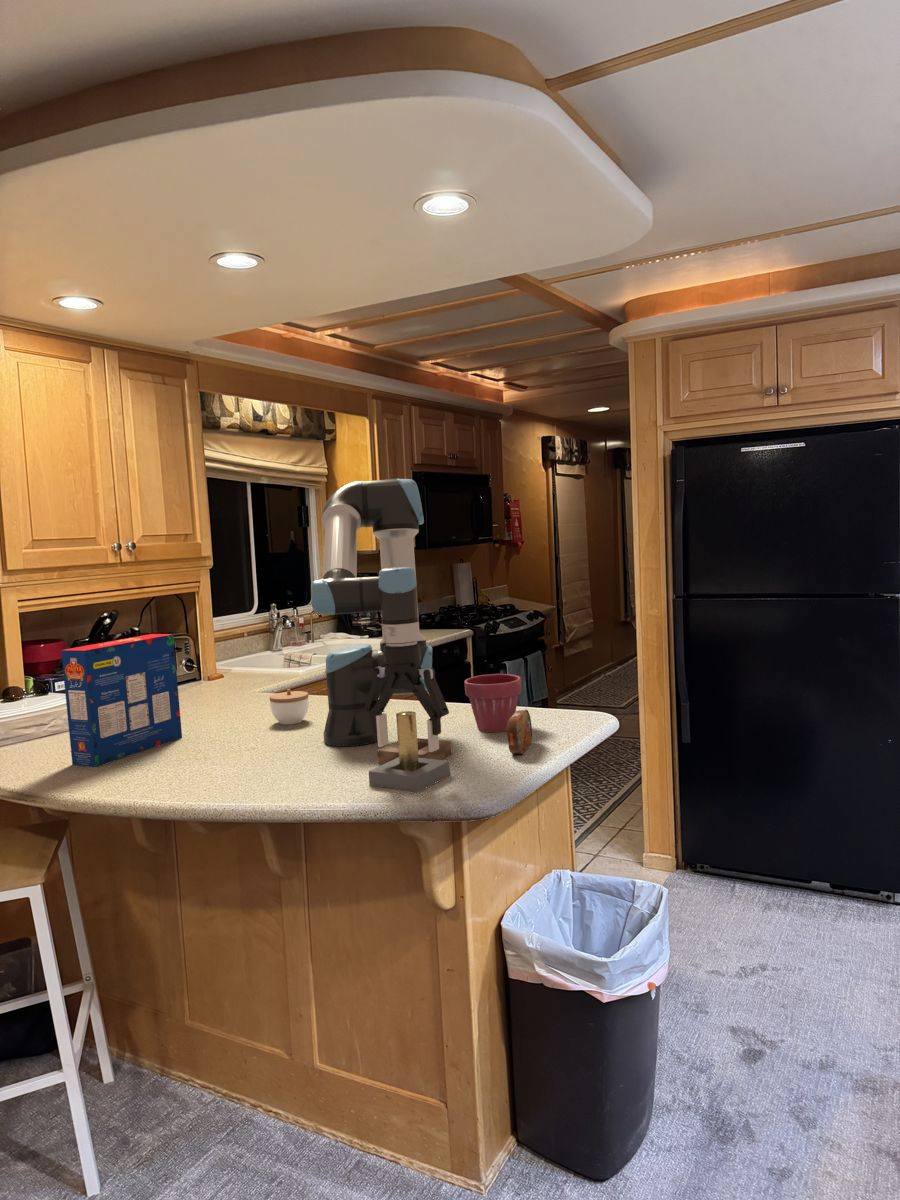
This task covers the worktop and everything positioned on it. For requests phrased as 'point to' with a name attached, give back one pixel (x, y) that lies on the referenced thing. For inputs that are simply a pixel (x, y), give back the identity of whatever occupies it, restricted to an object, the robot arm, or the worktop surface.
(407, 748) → the lock pin
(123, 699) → the pasta box
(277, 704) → the lidded jar
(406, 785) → the plate
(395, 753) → the brown wooden square frame
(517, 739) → the tin
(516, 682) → the plant pot
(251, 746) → the worktop surface
